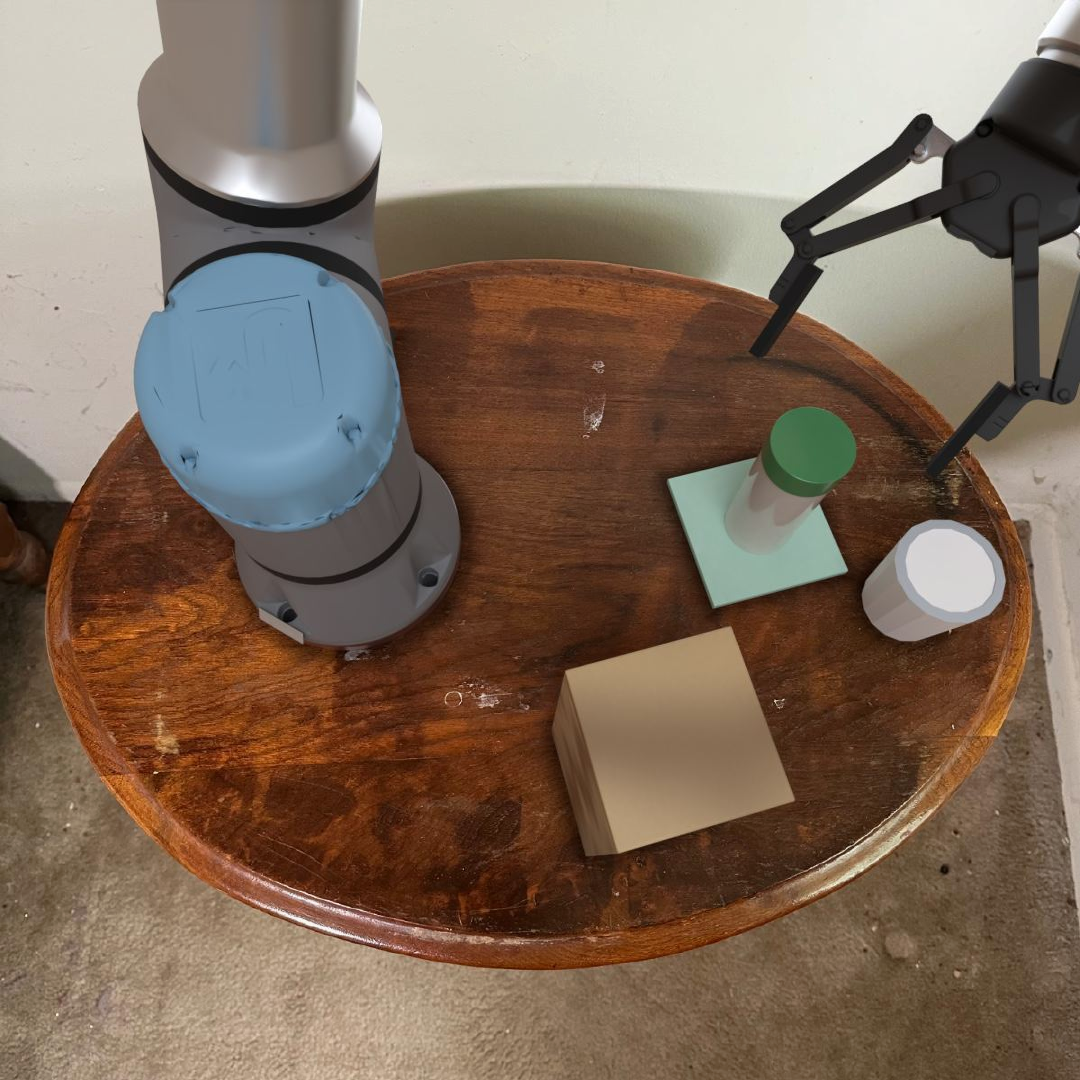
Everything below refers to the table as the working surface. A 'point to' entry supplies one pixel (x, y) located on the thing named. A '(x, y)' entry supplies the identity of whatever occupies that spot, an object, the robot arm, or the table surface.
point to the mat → (733, 568)
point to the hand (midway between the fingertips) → (841, 411)
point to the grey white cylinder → (934, 582)
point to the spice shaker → (789, 478)
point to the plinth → (665, 743)
